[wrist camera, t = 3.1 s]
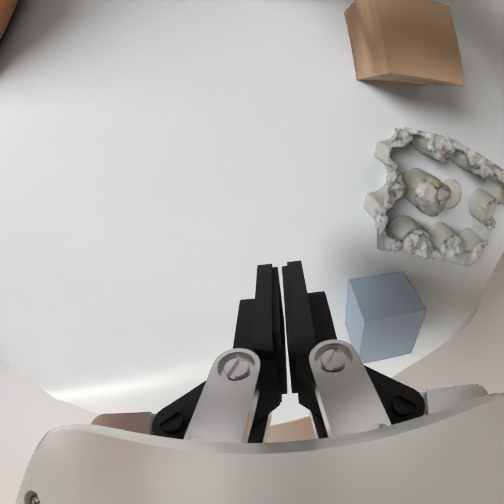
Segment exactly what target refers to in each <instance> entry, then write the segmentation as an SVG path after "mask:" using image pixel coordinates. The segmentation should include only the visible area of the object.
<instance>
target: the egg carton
mask: <svg viewBox="0 0 504 504" xmlns="http://www.w3.org/2000/svg"><path fill="white" fill-rule="evenodd" d="M395 130H396V131H395V133H394V135H393V136H392V137H391V138H390V139H388V140H386V141H379V142H377V144H376V150H375V157H376V158H377V159H379V160H381V161H382V162H383V163H384V164H385V166H386V169H387V174H388V175H387V181H386V183H385V184H384V186H383V187H382V188H380V189H379V190H377V191H375V192H370V193H367V195H366V199H365V203H364V208H365V209H366V210H367V212H368V213H369V214H370V215H371V216H372V218H373V219H374V220H375V222H376V224H375V226H376V228H377V248H378V249H379V250H387V251H395V252H397V251H404V252H407V253H409V254H410V255H412V254H413V253H414V254H417V255H419V256H421V257H423V258H424V259H428V258H432V259H437V260H441V261H449V262H453V263H456V264H460V265H463V266H470V265H472V264H473V263H475V262H476V261H477V260H478V259H479V258H480V255H481V253H482V250H483V248H484V247H485V246H486V245H487V244H488V241H487V238H488V235H489V232H490V230H491V229H492V228H495V224H496V223H495V220H494V219H493V218H492V215H493V212H494V209H495V205H496V203H498V204H503V205H504V170H503V169H502V168H500V167H499V166H497V165H496V164H494V163H492V162H491V161H489V160H488V159H486V158H485V157H483V156H481V155H480V154H478V153H477V152H475V151H473V150H471V149H469V148H467V147H466V146H464V145H462V144H461V143H459V142H457V141H455V140H453V139H451V138H449V137H445V136H441V135H437V134H433V133H428V132H423V131H417V130H413V129H410V128H405V129H398V128H396V129H395ZM411 141H412V144H413V146H414V148H415V149H416V150H418V151H419V152H420V153H422V154H424V155H426V156H429V157H431V158H433V159H436V160H438V161H439V162H441V163H444V164H445V163H446V159H447V158H448V157H451V159H452V161H453V162H454V163H455V164H456V165H458V166H460V167H462V168H464V169H466V170H468V171H470V172H472V173H473V174H475V175H478V176H479V177H480V178H481V179H484V178H485V179H484V182H483V186H482V189H477V190H475V191H474V192H473V193H472V195H471V197H470V199H469V206H468V208H469V212H470V214H471V215H472V216H473V220H472V222H471V225H470V227H469V228H465V229H464V230H462V231H461V232H460V233H459V235H457V234H456V233H455V232H454V231H453V230H452V229H450V228H449V227H448V226H447V225H446V224H445V223H443V222H438V223H435V224H433V225H432V226H431V227H430V228H429V229H428V231H427V232H426V231H425V230H424V229H423V228H422V227H421V226H419V225H418V224H417V223H416V222H415V221H414V220H413V219H412V218H411V217H410V216H407V215H401V216H398V217H396V218H395V219H394V220H393V221H392V222H391V223H390V225H389V227H388V228H385V227H386V225H387V222H388V220H389V219H388V216H387V214H386V212H387V211H388V209H393V207H394V204H395V201H396V200H397V199H398V198H400V197H402V195H403V196H404V197H405V198H406V199H407V200H408V201H409V202H410V203H412V204H413V205H414V206H415V207H416V208H417V209H418V210H419V211H421V212H422V213H424V214H426V215H429V216H431V217H434V216H437V215H438V214H439V213H440V212H441V211H442V209H443V208H446V209H451V208H454V207H455V206H456V205H457V204H458V202H459V201H460V198H461V194H462V193H461V186H460V185H459V183H458V182H457V181H456V180H455V179H448V180H446V181H445V182H444V183H442V182H441V181H440V180H438V179H437V178H436V177H434V176H432V175H430V174H428V173H427V172H425V171H423V170H421V169H418V168H412V169H409V170H408V171H407V172H406V173H405V174H404V175H403V177H402V174H401V173H399V172H398V171H397V170H396V169H397V167H398V164H397V162H395V161H394V160H392V159H391V157H390V152H391V149H392V148H393V147H405V146H406V145H407V144H408V143H409V142H411ZM401 178H402V179H401Z"/></svg>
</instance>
